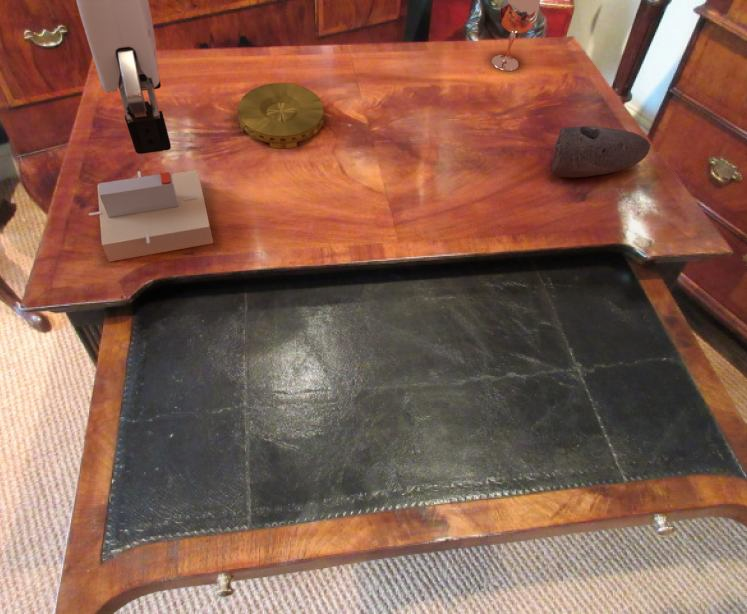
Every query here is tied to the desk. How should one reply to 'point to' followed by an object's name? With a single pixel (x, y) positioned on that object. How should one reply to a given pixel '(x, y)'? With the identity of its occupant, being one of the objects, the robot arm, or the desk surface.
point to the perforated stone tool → (596, 151)
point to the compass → (281, 114)
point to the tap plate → (158, 224)
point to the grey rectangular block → (138, 194)
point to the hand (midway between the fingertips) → (149, 118)
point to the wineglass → (515, 26)
